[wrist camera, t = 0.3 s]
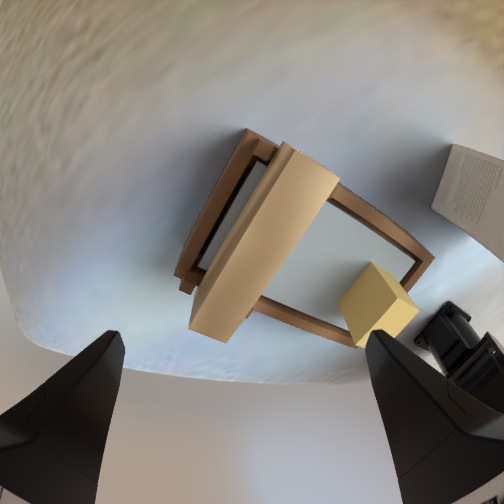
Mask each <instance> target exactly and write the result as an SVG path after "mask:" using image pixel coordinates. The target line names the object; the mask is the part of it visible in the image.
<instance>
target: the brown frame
mask: <svg viewBox="0 0 504 504" xmlns="http://www.w3.org/2000/svg"><path fill="white" fill-rule="evenodd" d="M279 147H280V146H278V145H277V144H275V143H273V142H271V141H270V140H268V139H266V138H264V137H262V136H261V135H259V134H257V133H255V132H253V131H251V130H250V129H248V128H247V129H246V131H245V133H244V135H243V136H242V138H241V140H240V142H239V143H238V145H237V147H236V149H235V150H234V152H233V154H232V156H231V157H230V159H229V161H228V163H227V165H226V166H225V168H224V170H223V172H222V174H221V175H220V177H219V179H218V181H217V183H216V185H215V187H214V188H213V190H212V192H211V194H210V196H209V198H208V200H207V202H206V204H205V205H204V207H203V209H202V211H201V213H200V215H199V217H198V219H197V221H196V223H195V225H194V227H193V229H192V231H191V233H190V235H189V237H188V239H187V241H186V243H185V245H184V247H183V250H182V252H181V255H180V258H179V261H178V264H177V267H176V269H175V272H174V276H176V277H178V278H180V279H182V280H181V284H180V287H179V290H180V291H182V292H185V293H187V294H189V295H191V293H192V291H193V289H194V288H195V286H199V285H200V283H201V281H202V279H203V277H204V276H205V274H206V272H207V271H206V270H204V269H202V268H200V267H198V265H199V261H200V259H201V257H202V255H203V253H204V251H205V250H206V248H207V246H208V244H209V242H210V240H211V239H212V237H213V235H214V233H215V231H216V229H217V228H218V226H219V224H220V222H221V220H222V219H223V217H224V215H225V213H226V211H227V210H228V208H229V206H230V204H231V203H232V201H233V199H234V197H235V195H236V194H237V192H238V190H239V188H240V187H241V185H242V183H243V181H244V180H245V178H246V176H247V175H248V173H249V171H250V169H251V168H252V166H253V164H254V163H255V161H256V159H257V160H259V161H261V162H263V163H265V164H267V165H269V164H270V162H271V160H272V159H273V157H274V155H275V154H276V152H277V150H278V149H279ZM327 200H328V201H329V202H331V203H333V204H334V205H336V206H337V207H339V208H341V209H342V210H344V211H345V212H347V213H348V214H350V215H351V216H353V217H354V218H356V219H358V220H359V221H361V222H362V223H364V224H365V225H367V226H368V227H370V228H371V229H372V230H374V231H375V232H377V233H378V234H380V235H381V236H383V237H384V238H386V239H387V240H388V241H390V242H391V243H393V244H394V245H396V246H397V247H398V248H400V249H401V250H402V251H404V252H405V253H407V254H408V255H409V256H411V257H412V258H413V259H414V260H415V261H416V262H415V263H414V264H413V266H412V267H411V268H410V269H409V271H408V272H407V273H406V275H405V276H404V277H403V278H402V280H401V281H400V282H399V283H400V285H401V286H402V287H403V289H404V290H405V291H406V293H408V292H409V290H410V289H411V288H412V287H413V285H414V284H415V283H416V282H417V280H418V279H419V278H420V277H421V275H422V274H423V273H424V272H425V270H426V269H427V268H428V266H429V265H430V264H431V262H432V261H433V260H434V258H435V257H434V256H433V255H432V254H431V253H430V252H429V251H428V250H427V249H426V248H425V247H424V246H422V245H421V244H420V243H419V242H418V241H417V240H416V239H415V238H414V237H413V236H411V235H410V234H409V233H408V232H406V231H405V230H404V229H403V228H401V227H400V226H399V225H397V224H396V223H395V222H393V221H392V220H391V219H389V218H388V217H387V216H385V215H384V214H383V213H381V212H380V211H379V210H377V209H376V208H375V207H373V206H372V205H370V204H369V203H368V202H366V201H365V200H363V199H362V198H360V197H359V196H358V195H356V194H355V193H353V192H352V191H350V190H349V189H347V188H346V187H344V186H343V185H341V184H340V183H337V185H336V186H335V188H334V189H333V191H332V192H331V194H330V195H329V197H328V198H327ZM253 310H255V311H257V312H260V313H262V314H265V315H267V316H270V317H272V318H275V319H277V320H280V321H282V322H285V323H287V324H290V325H293V326H295V327H298V328H300V329H303V330H306V331H308V332H311V333H314V334H316V335H319V336H322V337H325V338H327V339H330V340H333V341H336V342H338V343H341V344H344V345H347V346H350V347H353V348H355V349H357V348H358V347H359V346H357V345H355V343H354V341H353V338H352V336H351V334H350V331H348V330H345V329H343V328H340V327H338V326H335V325H333V324H330V323H328V322H325V321H323V320H320V319H318V318H315V317H313V316H311V315H308V314H306V313H303V312H301V311H298V310H296V309H294V308H291V307H289V306H287V305H284V304H282V303H279V302H277V301H275V300H272V299H270V298H268V297H265V296H263V295H261V296H260V297H259V299H258V300H257V302H256V303H255V304H254V306H253V307H252V308H251V310H250V311H249V313H248V314H247V315H246V317H245V318H248V317H249V315H250V314H251V312H252V311H253Z"/></svg>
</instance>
